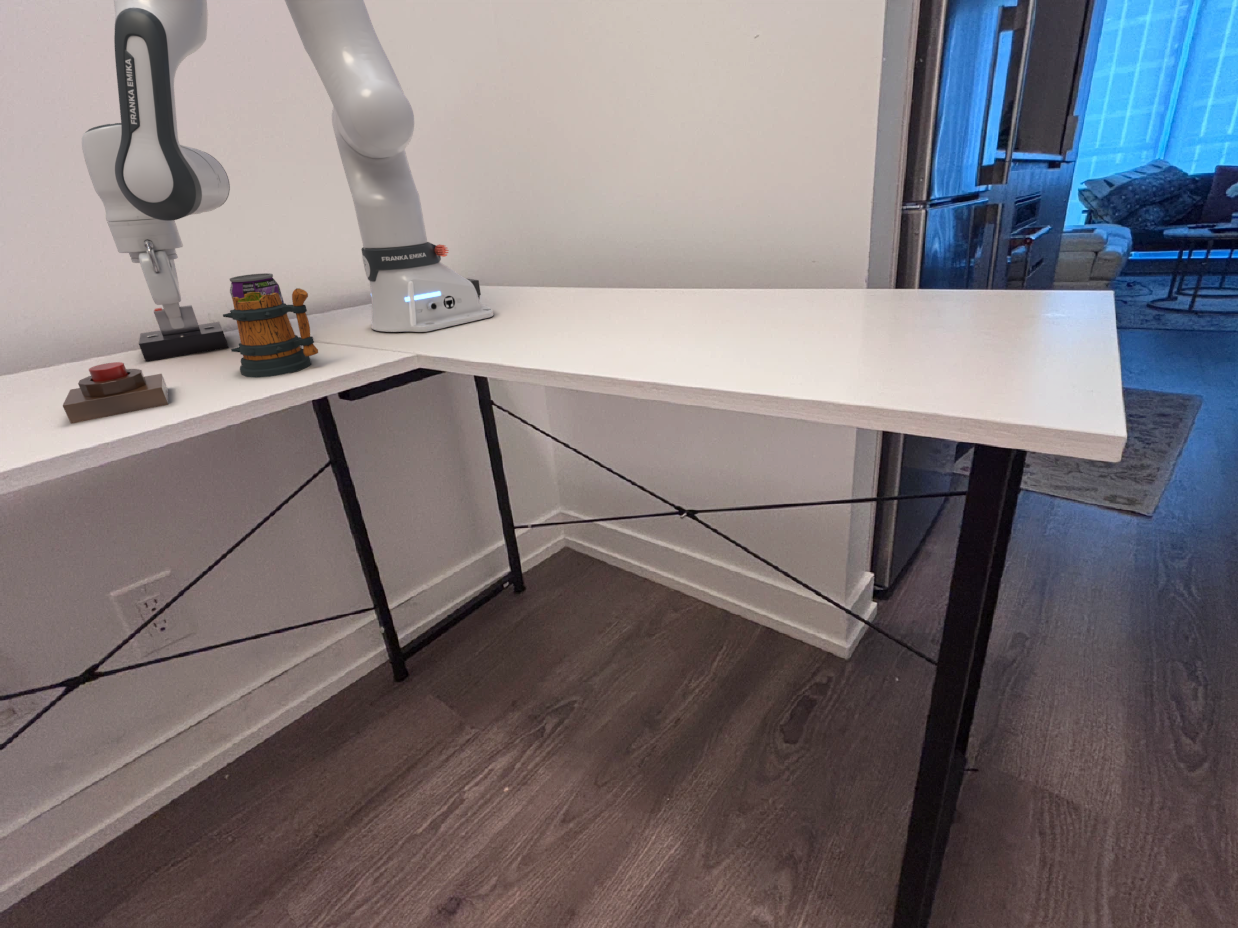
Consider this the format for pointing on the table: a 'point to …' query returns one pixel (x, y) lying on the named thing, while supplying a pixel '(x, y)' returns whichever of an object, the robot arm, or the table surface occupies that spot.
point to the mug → (271, 334)
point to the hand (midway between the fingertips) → (178, 324)
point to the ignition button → (108, 371)
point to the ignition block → (115, 396)
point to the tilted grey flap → (186, 315)
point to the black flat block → (182, 342)
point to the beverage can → (254, 285)
